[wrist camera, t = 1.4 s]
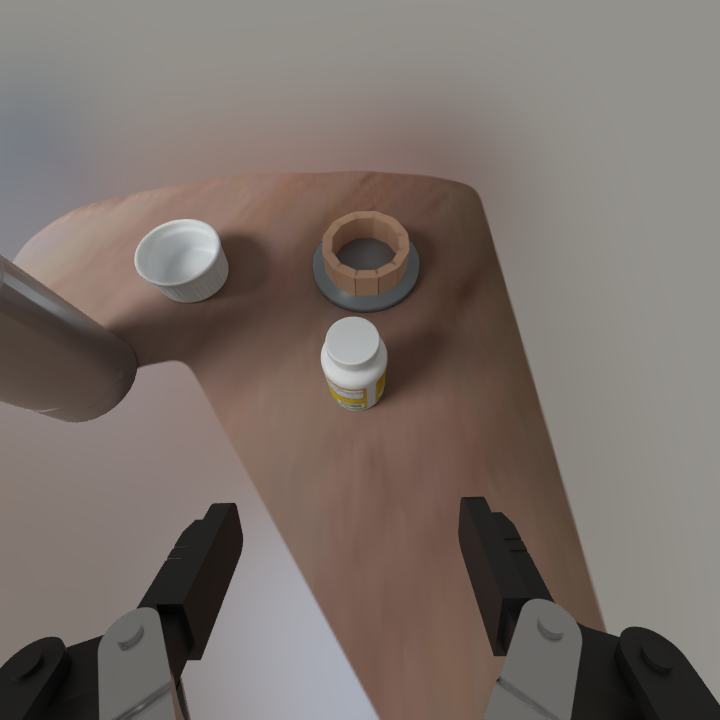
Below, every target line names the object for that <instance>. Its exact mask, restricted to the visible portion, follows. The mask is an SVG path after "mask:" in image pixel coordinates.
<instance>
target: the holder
mask: <svg viewBox="0 0 720 720" xmlns="http://www.w3.org/2000/svg"><path fill="white" fill-rule="evenodd" d="M313 273H314V277H315V281H316V284H317V286H318V288H319V290H320V292H321V293H322V294H323V295H324V296H325V297H326V298H327V299H328V300H329V301H330V302H332V303H333V304H335V305H337V306H338V307H340V308H343V309H346V310H349V311H353V312H361V313H369V312H377V311H382V310H385V309H388V308H390V307H393V306H395V305H396V304H398V303H400V302H401V301H402V300H404V299H405V298H406V297H407V296H408V295H409V294H410V292H411V291H412V289H413V288H414V286H415V284H416V281H417V278H418V273H419V256H418V253H417V250H416V248H415V247H414V245H413V243H412V242H411V241H410V240H409V239H408V233H407V231H406V230H405V229H404V228H403V227H402V226H401V225H400V223H399V222H398V221H397V220H396V219H395V218H393V217H390V216H387V215H385V214H382V213H379V212H377V211H376V212H375V211H362V212H354V213H353V212H352V213H350V214H348V215H346V216H343V217H341V218H339V219H337V220H335V221H334V222H333V223H332V224H331V226H330V227H329V228H328V230H327V231H326V232H325V234H324V235H323V241H322V242H321V243H320V245H319V246H318V248H317V250H316V252H315V254H314V258H313Z"/></svg>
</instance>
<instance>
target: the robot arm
mask: <svg viewBox="0 0 720 720" xmlns="http://www.w3.org/2000/svg"><path fill="white" fill-rule="evenodd" d="M136 372H137V361H136V356H135V354H134V352H133V350H132V348H131V347H130V346H129V345H127V344H126V343H125V342H124V341H122V340H121V339H119V338H118V337H117V336H115V335H114V334H112V333H111V332H110V331H108V330H107V329H105V328H104V327H102V326H101V325H100V324H98V323H97V322H96V321H94V320H93V319H91V318H90V317H89V316H87V315H86V314H84V313H83V312H81V311H80V310H79V309H77V308H76V307H74V306H73V305H71V304H70V303H69V302H67V301H66V300H64V299H63V298H62V297H60V296H59V295H57V294H56V293H54V292H53V291H52V290H50V289H49V288H47V287H46V286H44V285H43V284H42V283H40V282H39V281H37V280H36V279H35V278H33V277H32V276H30V275H29V274H27V273H26V272H25V271H23V270H22V269H20V268H19V267H17V266H16V265H15V264H13V263H12V262H10V261H9V260H8V259H6V258H5V257H3V256H2V255H0V401H1V402H4V403H7V404H10V405H14V406H17V407H20V408H23V409H26V410H29V411H33V412H36V413H39V414H43V415H46V416H49V417H52V418H56V419H59V420H63V421H66V422H83V421H88V420H92V419H95V418H97V417H99V416H101V415H103V414H105V413H107V412H108V411H110V410H111V409H112V408H114V407H115V406H116V405H117V404H118V403H119V402H120V401H121V400H122V399H123V398H124V397H125V396H126V394H127V393H128V392H129V390H130V389H131V386H132V384H133V382H134V380H135V376H136ZM458 534H459V543H460V548H461V552H462V555H463V558H464V561H465V564H466V568H467V571H468V574H469V577H470V581H471V584H472V587H473V590H474V593H475V597H476V600H477V603H478V606H479V610H480V613H481V616H482V619H483V622H484V626H485V629H486V632H487V635H488V639H489V642H490V645H491V648H492V651H493V655H494V656H506V660H505V663H504V666H503V669H502V672H501V675H500V677H499V679H497V681H496V683H495V686H494V689H493V692H492V695H491V698H490V701H489V704H488V707H487V710H486V713H485V716H484V719H483V720H720V705H719V703H718V702H717V701H716V699H715V698H714V696H713V695H712V694H711V692H710V691H709V689H708V688H707V686H706V685H705V684H704V682H703V681H702V679H701V678H700V677H699V675H698V674H697V672H696V671H695V670H694V668H693V667H692V665H691V664H690V662H689V661H688V660H687V658H686V657H685V656H684V654H683V653H682V652H681V651H680V650H679V649H678V648H677V647H676V646H675V645H674V644H672V643H671V642H670V641H668V640H667V639H666V638H664V637H663V636H661V635H660V634H658V633H656V632H654V631H651V630H649V629H646V628H642V627H629V628H626V629H625V630H623V632H622V633H621V635H620V637H617V636H614V635H611V634H607V633H604V632H601V631H597V630H594V629H591V628H588V627H585V626H583V625H581V624H579V623H577V622H576V621H575V620H574V619H573V618H572V616H571V615H570V614H569V613H568V612H567V611H566V610H564V609H563V608H562V607H560V606H559V605H557V604H556V603H555V602H554V600H553V599H552V597H551V595H550V593H549V591H548V589H547V587H546V585H545V583H544V581H543V579H542V578H541V576H540V574H539V572H538V570H537V568H536V566H535V564H534V562H533V560H532V558H531V556H530V554H529V553H528V552H527V549H526V547H525V545H524V543H523V541H521V537H520V535H519V533H518V531H517V529H516V527H515V525H514V524H513V523H512V522H511V521H510V520H509V519H508V518H507V517H506V516H505V515H504V514H503V513H502V512H493V513H492V512H491V510H490V508H489V506H488V504H487V501H486V499H485V498H484V497H462V498H461V502H460V515H459V529H458ZM242 547H243V533H242V529H241V524H240V519H239V515H238V510H237V506H236V504H235V503H214V504H212V505H211V506H210V508H209V510H208V511H207V513H206V515H205V517H204V519H203V520H195V521H194V522H193V523H192V524H191V525H190V526H189V527H188V528H186V529H185V531H183V533H182V534H181V536H180V537H179V539H178V541H177V542H176V544H175V546H174V549H172V551H171V552H170V554H169V556H168V558H167V561H165V563H164V564H163V566H162V567H161V569H160V571H159V572H158V574H157V576H156V577H155V579H154V581H153V582H152V585H151V586H150V587H149V589H148V591H147V592H146V594H145V596H144V597H143V599H142V601H141V602H140V604H139V606H138V607H137V609H135V610H133V611H130V612H128V613H127V614H125V615H123V616H122V617H121V618H119V619H118V620H117V621H116V622H115V623H113V624H112V625H111V627H110V628H109V629H108V630H107V631H106V633H105V634H104V635H102V636H100V637H97V638H94V639H91V640H88V641H85V642H82V643H79V644H76V645H73V646H70V647H67V648H66V647H65V645H64V643H63V641H62V640H61V639H60V638H58V637H46V638H43V639H39V640H37V641H35V642H33V643H31V644H29V645H27V646H26V647H24V648H23V649H21V650H20V651H19V652H17V653H16V654H15V655H13V657H11V658H10V659H9V660H8V661H7V662H6V663H5V664H4V665H3V666H2V667H1V668H0V720H191V719H190V714H189V710H188V706H187V700H186V696H185V692H184V687H183V682H182V678H181V674H182V671H183V669H184V667H185V664H186V662H187V660H201V658H202V655H203V653H204V650H205V648H206V645H207V642H208V640H209V637H210V634H211V632H212V629H213V626H214V624H215V621H216V618H217V616H218V613H219V611H220V608H221V605H222V602H223V600H224V597H225V595H226V592H227V589H228V587H229V584H230V581H231V579H232V576H233V574H234V571H235V568H236V565H237V563H238V560H239V558H240V555H241V551H242Z"/></svg>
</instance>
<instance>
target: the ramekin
mask: <svg viewBox="0 0 720 720" xmlns="http://www.w3.org/2000/svg"><path fill="white" fill-rule="evenodd" d="M135 266H136V269H137V271H138V272H139V274H140V275H141V276H142V277H143V278H144V279H145V280H147V281H148V282H150V283H151V284H153V285H154V286H155V287H156V288H157V289H159V290H160V291H161V292H162V293H163V294H164V295H166V296H167V297H168V298H170V299H172V300H175V301H177V302H182V303H193V302H198V301H202V300H204V299H207V298H209V297H210V296H212V295H213V294H215V293H216V292H217V291H219V290H220V288H221V287H222V286H223V285H224V283H225V282H226V280H227V277H228V273H229V267H228V262H227V259H226V257H225V254H224V252H223V249H222V247H221V241H220V238H219V235H218V234H217V232H216V231H215V229H214V228H213V227H211V226H210V225H208V224H207V223H204V222H202V221H198V220H193V219H181V220H175V221H171V222H168V223H165V224H163V225H161V226H158V227H157V228H155V229H153V230H152V231H151V232H149V233H148V234H147V235H146V236H145V237H144V238H143V239H142V241H141V242H140V244H139V245H138V247H137V249H136V252H135Z"/></svg>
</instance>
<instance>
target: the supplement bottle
mask: <svg viewBox="0 0 720 720" xmlns="http://www.w3.org/2000/svg"><path fill="white" fill-rule="evenodd" d="M321 364H322V368H323V371H324V374H325V377H326V380H327V383H328V386H329V389H330V392H331V394H332V396H333V398H334V400H335V401H336V402H337V403H338V404H339V405H341V406H342V407H344V408H346V409H349V410H355V411H359V410H365V409H368V408H370V407H371V406H373V405H374V404H376V403H377V402H378V400H379V399H380V398H381V396H382V394H383V391H384V386H385V377H386V368H387V350H386V347H385V344H384V342H383V341H382V339H381V338H380V337H379V333H378V331H377V329H376V327H375V326H374V325H373V324H372V323H371V322H369V321H368V320H366V319H364V318H361V317H346V318H343V319H340V320H338V321H337V322H335V323H334V324H333V325H332V326H331V327H330V329H329V330H328V332H327V335H326V342H325V343H324V345H323V348H322V351H321Z"/></svg>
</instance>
